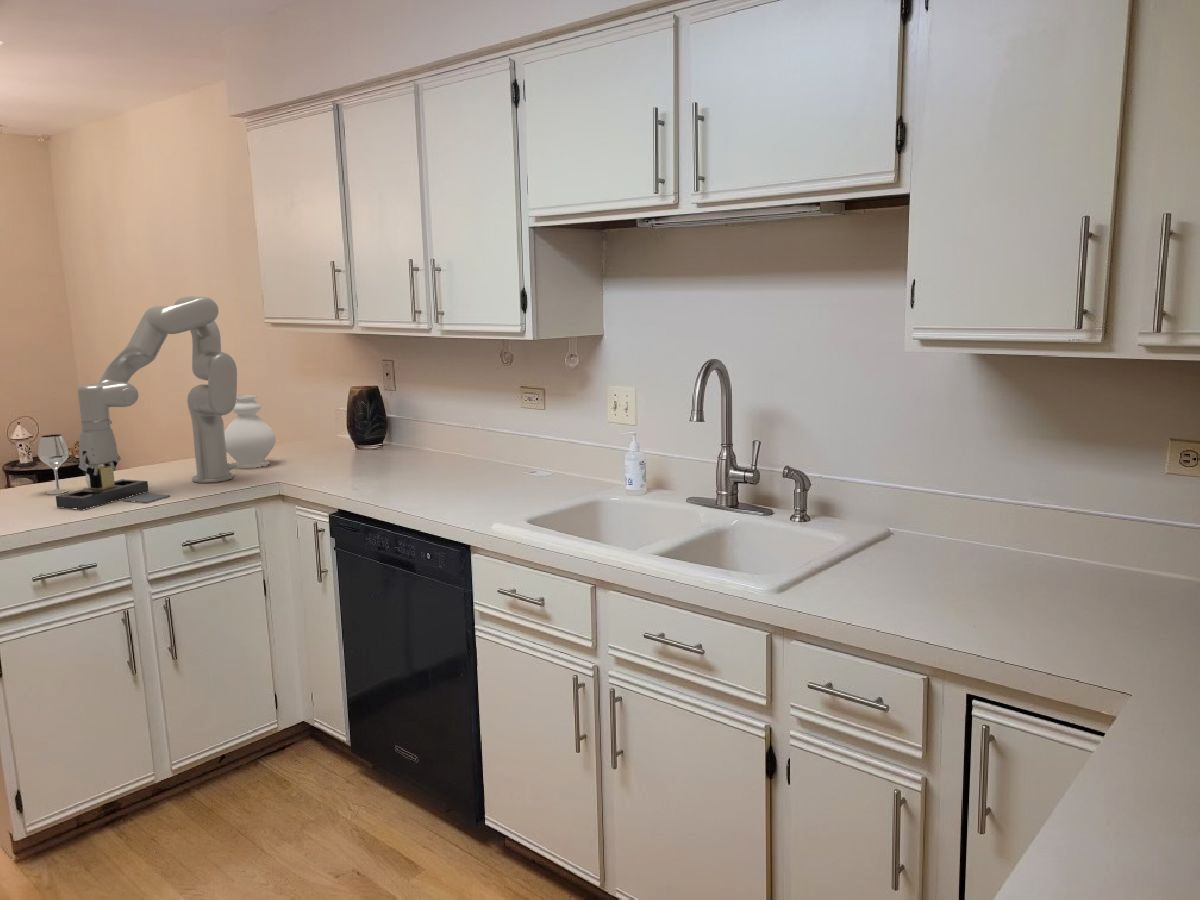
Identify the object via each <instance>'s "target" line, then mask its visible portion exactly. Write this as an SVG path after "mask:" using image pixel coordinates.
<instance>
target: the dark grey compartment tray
mask: <svg viewBox="0 0 1200 900" xmlns="http://www.w3.org/2000/svg"><path fill="white" fill-rule="evenodd" d="M114 482H115V488H112V489H108V490H104V491H97V490H91V487H90V488H89V487H88V488H83V489H79V490H75V491H70V492H68V493H64V494H57V495H55V503H56V508H57V507H64V508H77V509H86V508H90V507H93V506H97V505H100V506H102V505H101V504H104V505H106V504H105V503H108V502H111V501H115V500H118V501H120V500H119V499H122V498H125V499H127V498H126V497H129V496H132V495H136V494H139V493H143V492H147V491H149V484H148V481H147V480H139V479H138V480H137V479H117V480H114ZM147 493H148V492H147ZM143 494H144V493H143ZM136 496H137V495H136ZM129 498H130V497H129ZM122 500H123V499H122ZM115 502H116V501H115ZM111 503H112V502H111ZM108 504H109V503H108ZM97 507H98V506H97ZM64 508H63V509H64ZM93 508H94V507H93ZM90 509H91V508H90ZM86 510H87V509H86Z"/></svg>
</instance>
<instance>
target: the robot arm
mask: <svg viewBox="0 0 1200 900" xmlns="http://www.w3.org/2000/svg"><path fill="white" fill-rule="evenodd" d="M218 316H219V306H218V304H217V303H216V301H215V300H214V299H212V298H209V297H206V296H184V297H180V298H179V299H177V300H176V301H175V302H174V305H168V306H161V305H160V306H159V305H156V306H152V307H149V308H148V309H147V310H146V311H145V312H144V314H143V315H142V317H141V319H140V321H139V322H138V324H137V327H136V329H135V330H134V332H133V334H132V336H131V338H130V339H129V342H128V343H127V345H126V347H125V348H124V349H123V350H122V351H121V352H119V354H118V355H117V356H116V357H115V358H114V359H113V360H112V361H111V362H110V363H109V365H108V366H107V367H106V369H105V371H104V372H103V374H102V375H101V378H100V380H99V382H98V383H97V384H92V383H91V384H84V385H81V386H79V387H78V388H77V397H78V398H77V399H78V404H79V405H78V407H79V415H80V424H81V425H80V426H81V432H79V436H78V456H79V457H78V458H79V465H78V469H80V470H82V471H84V472H85V474H86V473H87V475H89V476H90V485H91V488H100V487H101V486H100V477H99V475H97V474H98V465H100V464H103V465H104V466H113V474H115V473H114V472H115V471H116V467H117V465H118V463H119V462H120V461H121V460H122V459H121V456H120V455H119V453H118V447H117V443H116V437H115V434H114V431H113V429H112V426H111V425H112V424H113V421H112V420H111V418H110V417H111V416H110V408H127V407H131V406H133V405H135V404H136V402H137V401H138V400H139V391H138V389H137V388H136V387H135V386H134V385H133V384H131V383H129V381H130V379H131V378H132V376H133V375H135V374H136V372H138V371H139V370H140V369H142V368H144V367H146V366H148V365H150V363H152V362H154V361H155V360H156V358H157V356H158V354H159V353H160V350H161V349H162V346H163V344H164V343H165V341H166V339H167V337H168V335H178V334H180V333H184V332H188V331H190V333H191V339H192V341H191V342H192V347H191V348H192V351H191V353H192V357H191V359H192V360H191V369H192V373H193V375H194V376H195V378H197V379H199V380H203V381H207V382H208V383H207V384H198V385H195V386H194V387H192V388H191V389H190V390H189V392H188V395H187V397H186V398H187V400H186V401H187V408H188V411H189V415H190V418H191V424H192V434H193V437H192V438H193V445H194V446H193V447H194V457H195V458H194V459H195V467H196V469H195V470H196V474H195V475H193V476H192V477H191V480H192V482H193V483H199V484H201V483H202V484H207V483H208V484H209V483H220V481H221V482H226V481H229V479H230V480H232V479H233V478H234V473H232V472H231V471H232V470H235V469H237V468H236V467H237V465H236V464H235V463H236V462H233V463H229V462H228V457H227V454H228V453H227V451H226V443H225V430H226V429H225V424H224V420H223V416H226V415H227V416H228V415H229V414H230V413H231V412H233V409H234V407H235V404H236V402H237V400H236V397H237V396H238V395H237V391H238V369H237V368H238V366H237V364H236V362H235V360H234V358H233V357H232V356H231V355H230V354H228V353H226V352H222V345H221V344H222V343H221V340H222V339H221V332H220V328H219V326H218V325H217V323H216V321H215V320H216V319H217V318H218ZM87 464H88V466H87ZM92 467H93V469H92ZM114 484H115V482H114Z"/></svg>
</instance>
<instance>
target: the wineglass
mask: <svg viewBox="0 0 1200 900" xmlns="http://www.w3.org/2000/svg"><path fill="white" fill-rule="evenodd" d="M37 455H38V458H39V460H40V461H41V462H42V463H44V464H45V465H46V466H48V467H50V468H51V469H52V470H53V473H54V481H55V489H53V490H50V491H47V492H46V493H45V494H46V495H48V494H56V495H61V494H60V493H62V492H63V493H64V492H65V491H66V492H67V490H68V489H61V488H60V483H59V475H58V474H59V473H58V469H59V468H60V467H61V466H62V464H64V463H65V462H66V461H67V459H68V458H69V455H70V452H69V447H68V445H67V442H66V440H65V438H64V435H63V434H56V433H55V434H46V435H40V438H39V443H38V450H37ZM64 494H65V493H64Z"/></svg>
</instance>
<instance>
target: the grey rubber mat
mask: <svg viewBox="0 0 1200 900" xmlns="http://www.w3.org/2000/svg"><path fill="white" fill-rule="evenodd" d="M170 495H171V494H162V493H160V494H159V493H149V492H147V493H143V494H140V495H136V496H133V497H129V498H125V499H122V502H123V501H135V502H144V503H143V504H149V503H148V502H150V503H152V502H151V501H154V502H156V501H155V500H157V501H160V500H163V499H162V498H164V499H167V498H170V497H171V496H170ZM166 497H167V498H166ZM159 499H160V500H159ZM135 502H134V503H135Z"/></svg>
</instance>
